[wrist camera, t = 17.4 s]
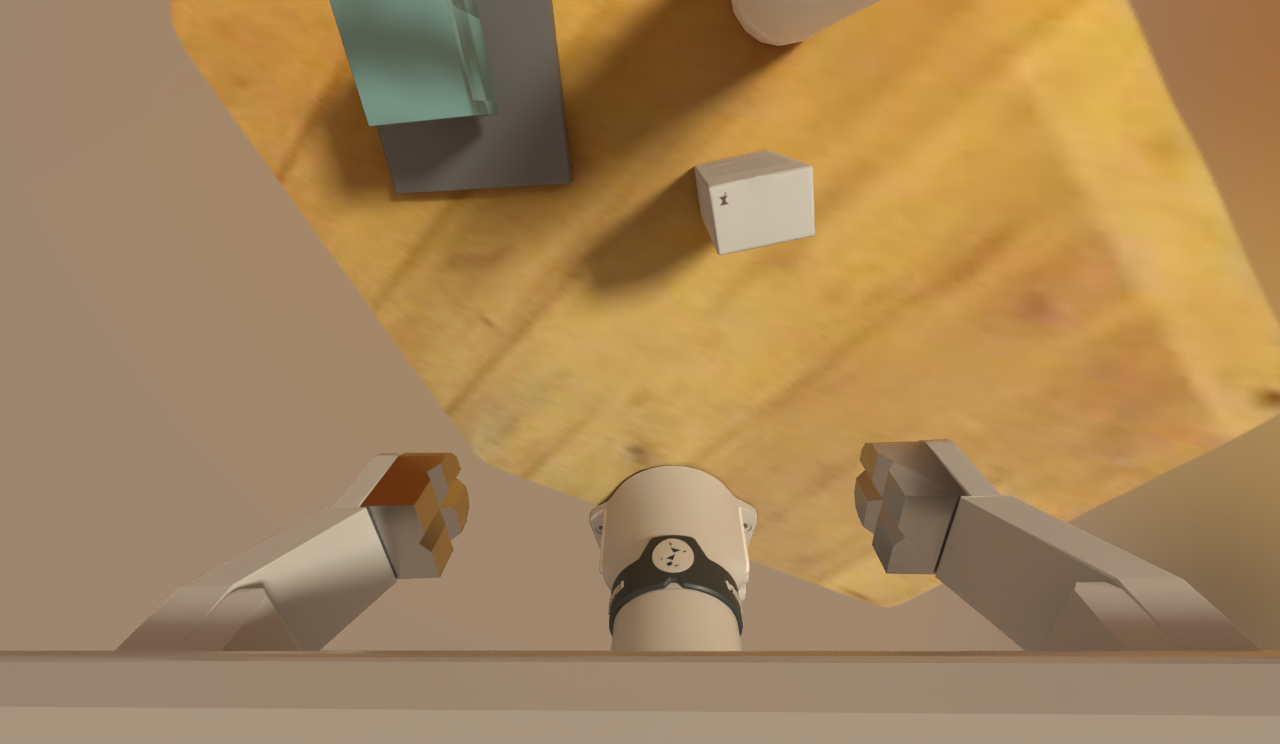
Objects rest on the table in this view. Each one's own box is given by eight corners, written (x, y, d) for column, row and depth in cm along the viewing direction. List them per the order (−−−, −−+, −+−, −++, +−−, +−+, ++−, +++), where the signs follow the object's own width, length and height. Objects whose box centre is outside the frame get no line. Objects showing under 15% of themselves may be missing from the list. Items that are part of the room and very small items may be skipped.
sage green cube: (498, 114, 34) (471, 115, 29) (412, 123, 34) (369, 126, 29) (476, 4, 31) (441, -18, 26) (382, 15, 31) (328, -4, 26)
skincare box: (701, 219, 41) (715, 257, 30) (693, 165, 39) (705, 185, 28) (775, 204, 40) (817, 237, 29) (771, 147, 38) (813, 161, 27)
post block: (572, 181, 40) (550, 198, 32) (404, 191, 40) (341, 210, 32) (542, -80, 32) (503, -142, 24) (337, -61, 33) (234, -116, 25)
